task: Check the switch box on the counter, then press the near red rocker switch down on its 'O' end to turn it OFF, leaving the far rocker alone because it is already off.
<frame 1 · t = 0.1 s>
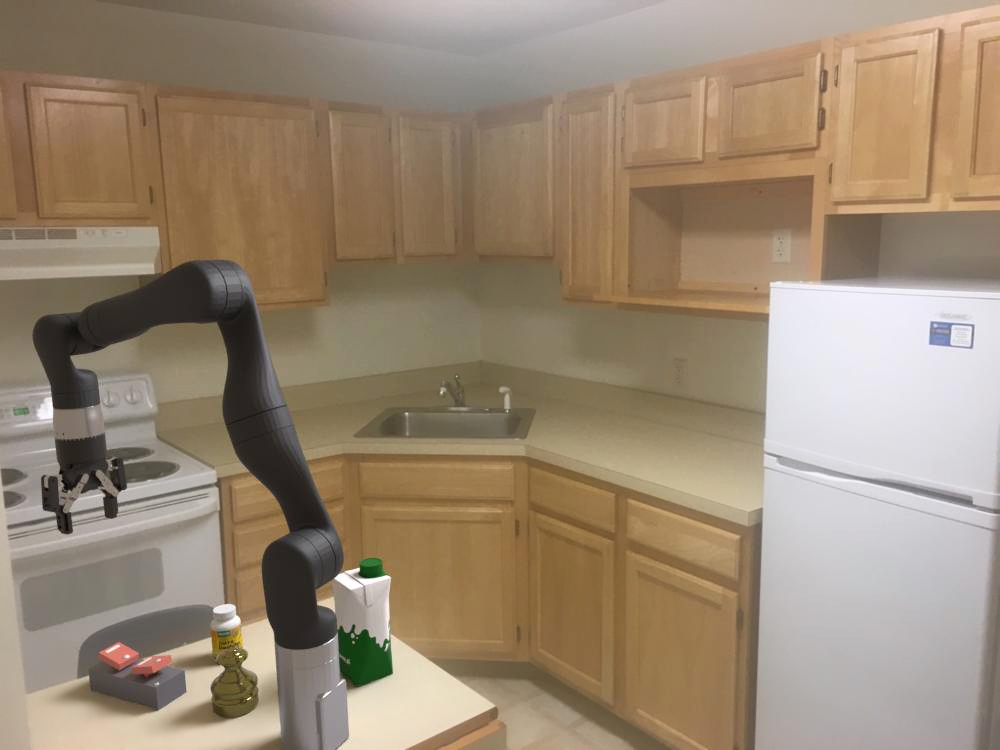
hand: (89, 525, 134), 29 cm above the counter, tool pointing down, fingers open, 8 cm apart
near rocker: (152, 666, 133), point 5 cm above the counter, hinge at 14.0°
switch box: (138, 691, 136), on the counter
supplement bottle: (228, 658, 147), on the counter
gold chess piece: (236, 707, 130), on the counter
milk carton: (365, 673, 140), on the counter
far rocker: (118, 657, 136), point 5 cm above the counter, hinge at -14.0°
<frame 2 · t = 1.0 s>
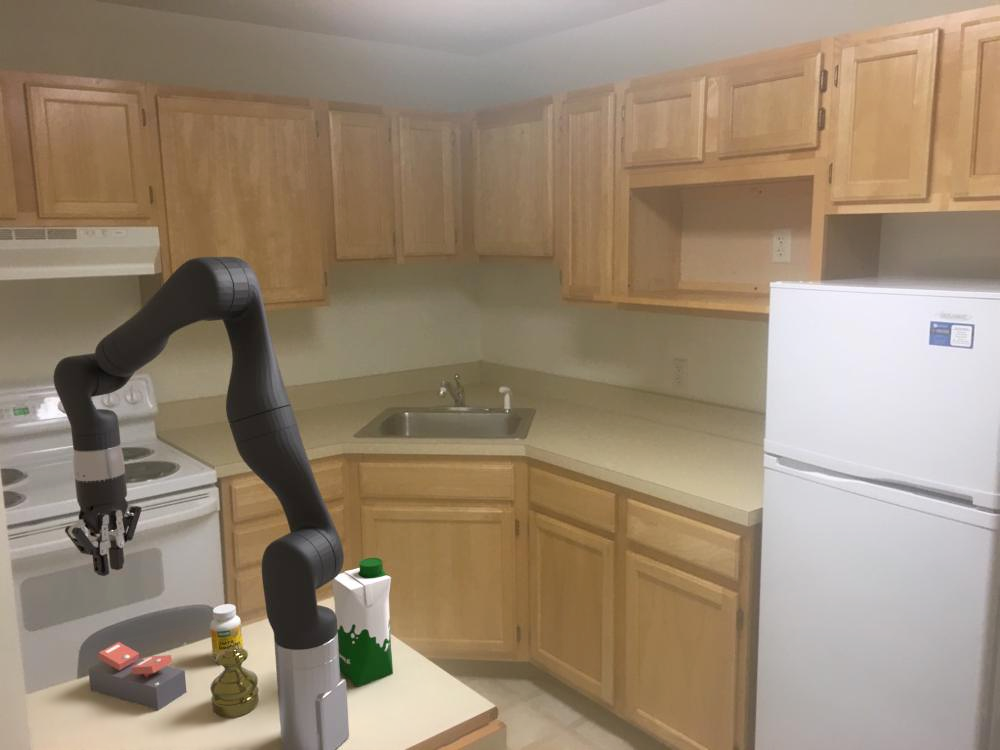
hand: (110, 571, 134), 21 cm above the counter, tool pointing down, fingers closed
nothing on the counter moved.
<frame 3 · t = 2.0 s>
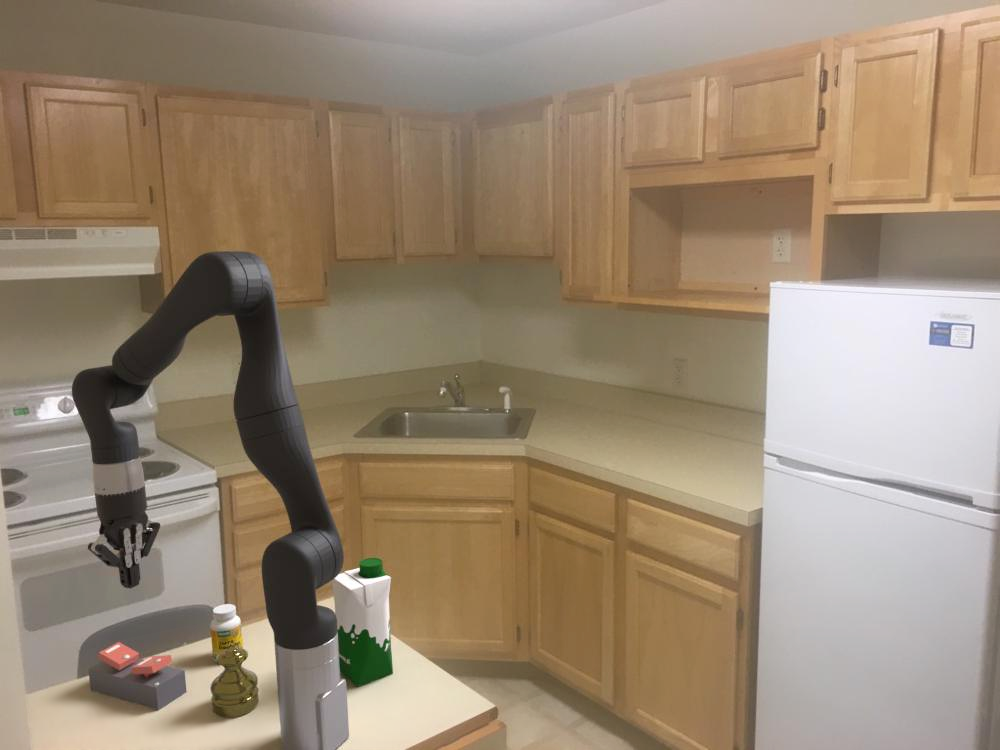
hand: (131, 586, 132), 19 cm above the counter, tool pointing down, fingers closed
nothing on the counter moved.
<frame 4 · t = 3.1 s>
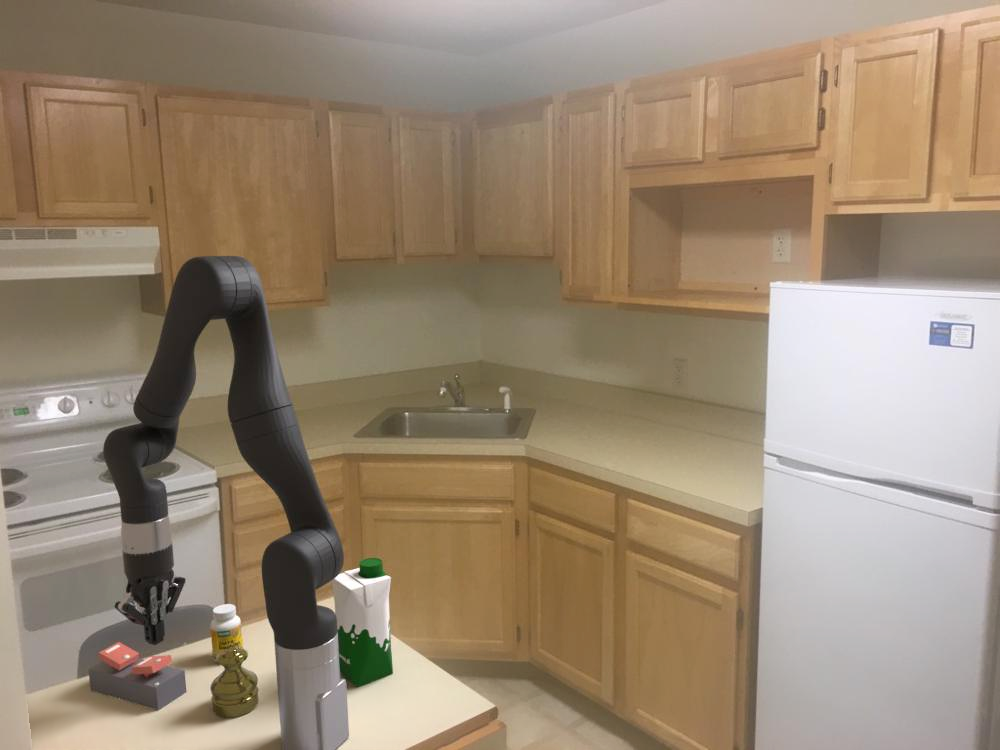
hand: (155, 642, 132), 10 cm above the counter, tool pointing down, fingers closed
nothing on the counter moved.
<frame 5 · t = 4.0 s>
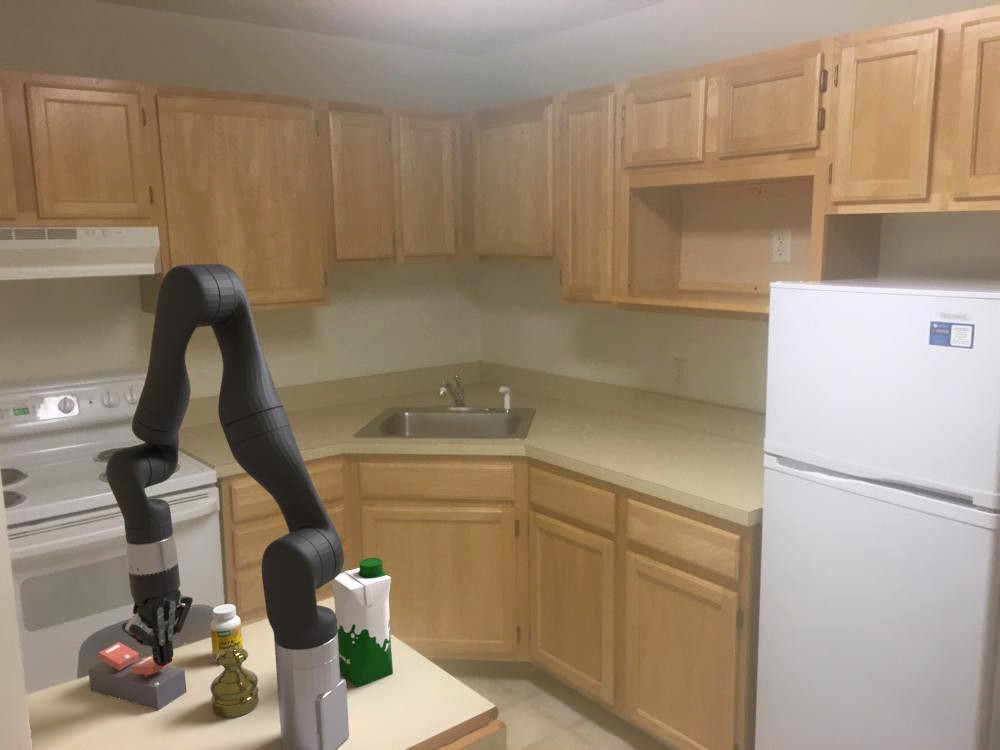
hand: (164, 663, 132), 7 cm above the counter, tool pointing down, fingers closed
near rocker: (152, 666, 133), point 5 cm above the counter, hinge at 11.0°, touching gripper
everything else where it was.
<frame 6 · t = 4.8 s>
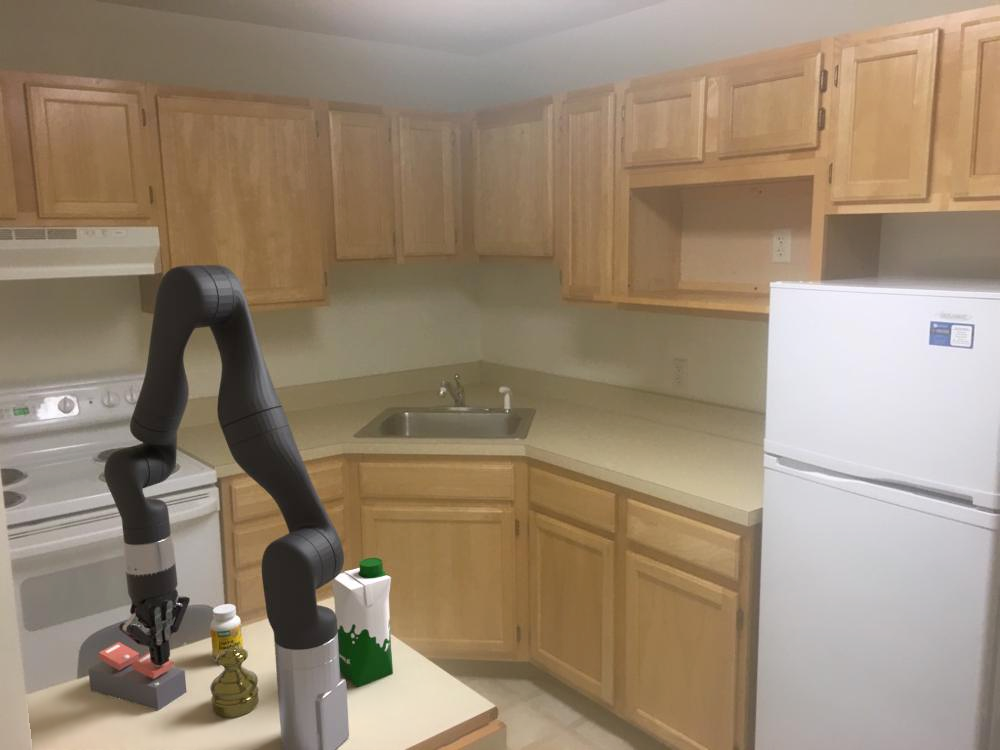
hand: (161, 662, 132), 7 cm above the counter, tool pointing down, fingers closed
near rocker: (152, 666, 133), point 5 cm above the counter, hinge at -9.5°
everything else where it was.
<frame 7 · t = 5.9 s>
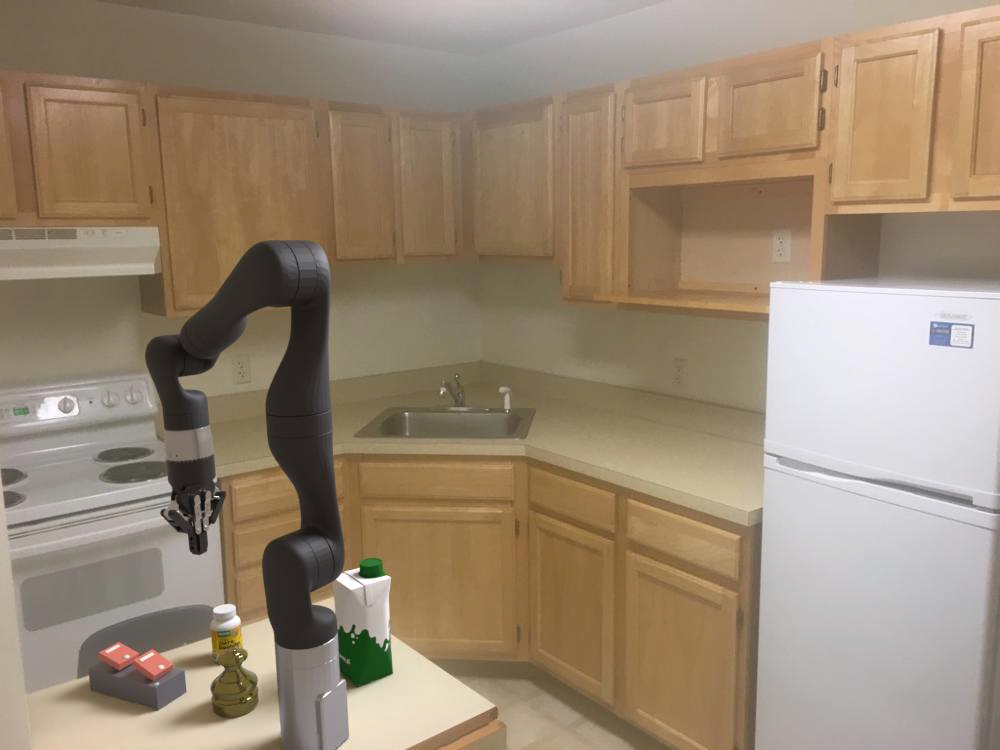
hand: (199, 553, 134), 24 cm above the counter, tool pointing down, fingers closed
near rocker: (152, 666, 133), point 5 cm above the counter, hinge at -21.7°
everything else where it was.
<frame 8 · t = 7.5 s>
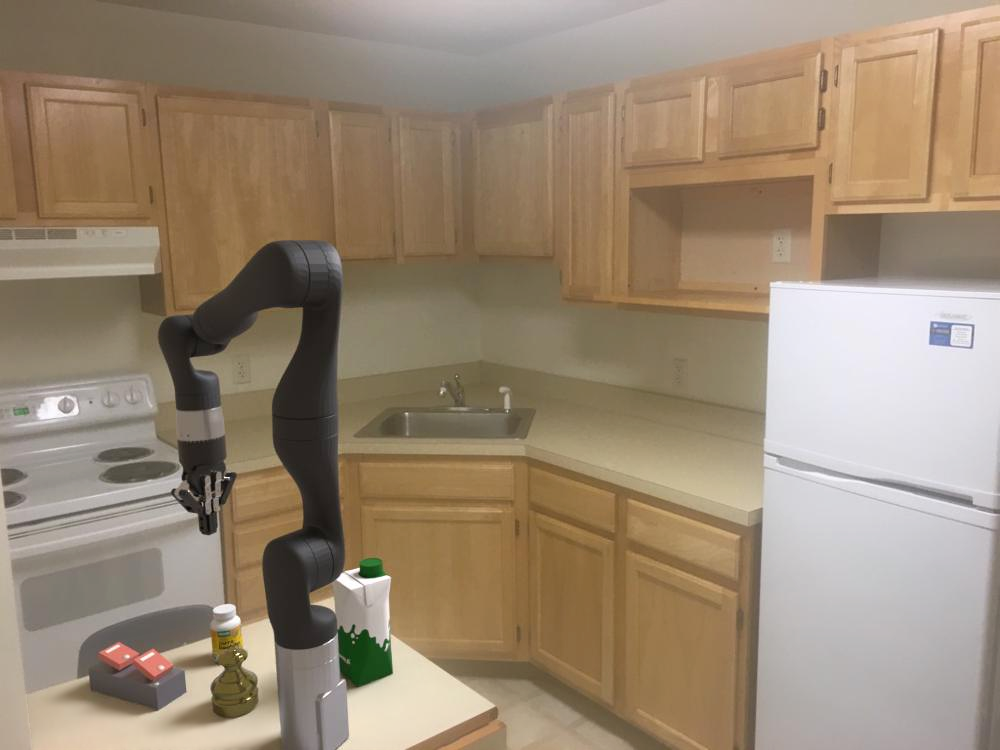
hand: (209, 533, 134), 27 cm above the counter, tool pointing down, fingers closed
near rocker: (152, 666, 133), point 5 cm above the counter, hinge at -24.8°
everything else where it was.
at the end: near rocker at -25° (first picture: +14°); far rocker at -14° (first picture: -14°) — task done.
